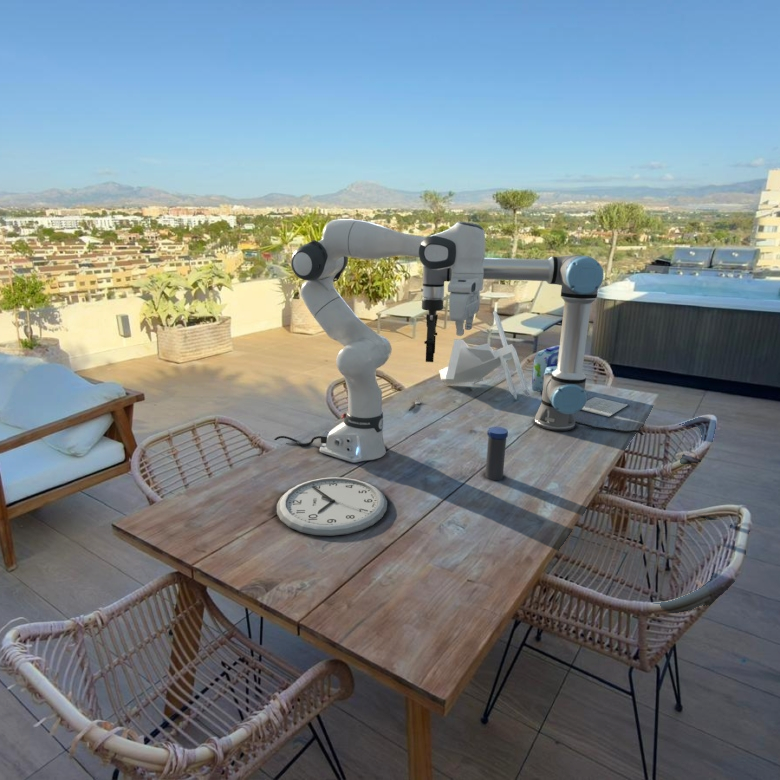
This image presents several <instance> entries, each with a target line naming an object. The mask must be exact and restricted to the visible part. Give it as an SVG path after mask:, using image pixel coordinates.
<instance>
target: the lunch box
mask: <svg viewBox="0 0 780 780" xmlns="http://www.w3.org/2000/svg"><path fill="white" fill-rule="evenodd" d="M559 346H560V344H559V345H553V346H550V347H546V348H545V349H542V350H539V351H538V352H537V353H536V354H535V356H534V358H533V365H532V376H531V377H532V378H531V390H532V391H533V392H537V393H542V392H543V382H544V373H545V369H546V368H547V367H553V366H557V364H558V355H559Z"/></svg>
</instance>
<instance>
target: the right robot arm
mask: <svg viewBox="0 0 780 780" xmlns="http://www.w3.org/2000/svg"><path fill="white" fill-rule="evenodd" d="M483 270H484V276H483V280H495V281H497V280H499V281H500V280H501V281H526V282H527V281H531V282H546V283H547V284H548V285H557V286H561V289H560V298H561V299H562V300H563V303H564V305H563V313H562V322H561V330H560V339H559V355H558V364H557V366H553V367H547V368H546V369H545V373H544V382H543V392H542V394H541V402H540V405H539V407H538V410H537V411H536V413H535V416H534V424H535V425H536V426H537V427H539V428H542V429H544V430H549V431H556V432H567V431H572V430H574V429H575V428H576V425H579V426H584V427H587V428H590V429H595V430H603V431H611V432H616V433H617V432H618V433H622V434H631V433H637V434H640V436H645V434H644V433H643V432H642V431H641V430H638V429H631V430H624V429H619V428H611V427H603V426H597V425H591V424H588V423H585V422H581V421H576V418H575V417H576V416H575V414H576V413H579V412H580V411H582V410H581V409H582V408H583V407H584V406H585V404H586V401H588V397H587V392H586V389H585V388H586V383H587V382H586V381H587V375H586V374H585V373H584V371H583V369H584V361H585V355H586V347H587V339H588V338H587V337H588V330H589V324H590V318H591V317H590V316H591V308H592V303H593V302H594V301H596V300H597V298H598V294H599V293H598V291H599V288H601V285H602V284H603V281H604V269H603V267H602V265H601V264H600V262H599V261H597V260H596V259H595V258H594V257H592V256H587V255H581V254H574V255H573V254H572V255H565V256H551V257H549V258H548V259H545V258H544V259H543V258H542V259H541V258H540V259H539V258H501V257H500V258H497V257H496V258H495V257H494V258H492V257H485V258H484V261H483ZM451 275H452V269H450V268H447V269H441V270H432V269H429V268H427V267H425V266H424V265H423V264H422V288H420V292H421V293H422V294H421V296H422V299H421V309H422V310H423V311H428V313H426V316H425V320H426V340H424V342H423V343H424V344H425V362H426V363H434V359H435V357H434V356H435V353H436V338H437V337H436V336H438V332H437V329H436V328H437V324H438V318H439V315H438V314H437V311H438V312H439V311H442V310H444V299H443V298H444V297H445V282H447V283H450V281H451Z"/></svg>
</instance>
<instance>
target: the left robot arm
mask: <svg viewBox="0 0 780 780" xmlns="http://www.w3.org/2000/svg"><path fill="white" fill-rule="evenodd" d="M399 256H402V257H403V256H404V257H406V256H407V257H412V258H413V257H414V258H419V261H420V263H421V264H422V266H423V265H424V266H425V267H427V268H429V269H432V270H441V269H447V268H450V269H452V275H451V281H449V282H448V284H447V292H448V293H449V297H448V306H449V307H448V311H449V312H448V313H449V319H450V321H452V322H454V323H455V330H456V331H455V332H456V333H455V334H456V336H459V337H462V336H463V335H464V333H465V331H470V330H472V329H473V322H474V318H475V314H477V313H479V311H480V300H481V299H480V298H481V297H480V296H481V295H480V294H481V292H480V291H483V290H484V279H483V276H484V270H483V261H484V258H486V233H485V230H484V228H483V227H482V226H481V225H479V224H477V223H472V222H466V221H458V222H456V223H455V224H454V225H452V226H450V227H449V228H447V229H445V230H444V231H441V232H438V233H434V234H431V235H429V236H426V235H425V236H424V235H417V234H416V235H415V234H408V233H404V232H400V231H397V230H394V229H392V228H389V227H386V226H383V225H381V224H377V223H373V222H370V221H367V220H366V221H365V220H359V219H349V218H347V219H345V218H344V219H332V220H330V221H328V222H327V223H326V224H325V225H324V228H323V230H322V236H321V239H320V240H315V239H314V240H311V241H309V242H307V243H305V244H303V245H301V246H300V247H298V248H296V249H295V250H294V251H293V253H292V254H291V258H290V266H291V267H290V268H291V270H292V272H293V274H294V275H295V276H296V277H297V278H299V279H301V280H302V281H304V282H303V283H302V285H301V287H300V290H299V291H300V296H301V299H302V301H303V302H304V304H305V306H306V307H307V309H308V311H309V313H310V314H311V315H312V317H313V318H314V320H315V321H316V322H317V323H318V325H319V326H320V327H321V328H322V330H323V331H324V332H325V334H326V335H327V336H328V337H329V338H330V339H331V340H334V341H336V342H338V343H339V344H340V345H342V346H343V348H342V349H341V350H339V352H338V353H337V355H336V359H335V365H336V367H337V371H339V373H340V375H342V376H343V377H344V380H345V385H346V389H347V403H348V408H347V409H346V411H344V412H343V414H342V415H341V420H342V419H343V421H341V422H340V423H339V424H337V425H335V426H334V427H333V428H332V429H331V430H329V431H325V432H324V433H323V434H321V435H317V436H314V437H312V439H311V440H310V441H309V442H307V443H301V442H300V440H298V439H295V438H292V437H289V436H286V435H279V436H277V437H275V438H274V439H273V441H278V440H279V439H286V440H289V441H292V442H295V443H296V444H297V445H298V446H302V447H306V446H309V445H312V444H313V443H314V441H316V440H317V439H320V443H321V445H320V447H319V453H322V454H324V455H328V456H330V457H334V458H336V459H340V460H343V461H347V462H350V463H355V464H356V463H359V462H365V461H374V460H377V459H380V458H382V457H384V456H385V455H386V453H387V449H386V446H385V441H384V436H383V435H384V434H383V429H384V412H383V411H382V410H383V389H382V388H381V386H380V385H379V383H378V380H377V374H376V373H377V369H379V368H381V367H382V366H384V365H385V364H386V363H387V361H388V360H389V359H390V357H391V355H392V345H391V343H390V341H389V340H388V339H387V337H385V336H383V335H381V334H379V333H377V332H376V331H375V330H373V329H372V327H370V326H368V325H367V324H366V323H365V322H364V321H362V320H361V319H360V317H359V316H358V315H357V314H356V313H355V312H354V311H353V310H352V308H351V307H350V306H349V305H348V303H347V302H346V300H345V299H344V298H343V297H342V296H341V294H340V293H339V292H338V290H337V289H336V287H335V286H334V283H335V282H337V281H339V280H340V278H341V275H342V274H343V272H344V271H345V269H346V268H347V265H348V262H349V258H351V259H357V260H379V259H386V258H391V257H399Z"/></svg>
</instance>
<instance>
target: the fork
mask: <svg viewBox="0 0 780 780" xmlns="http://www.w3.org/2000/svg"><path fill="white" fill-rule="evenodd" d="M422 400H423V398H422V396H416V399H415V401H414V404H412V405H411V406H410V408H409V409H408V412H410V411H411V410H413V409H414V408H415V407H416V405H419V404H421V403H422Z"/></svg>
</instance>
